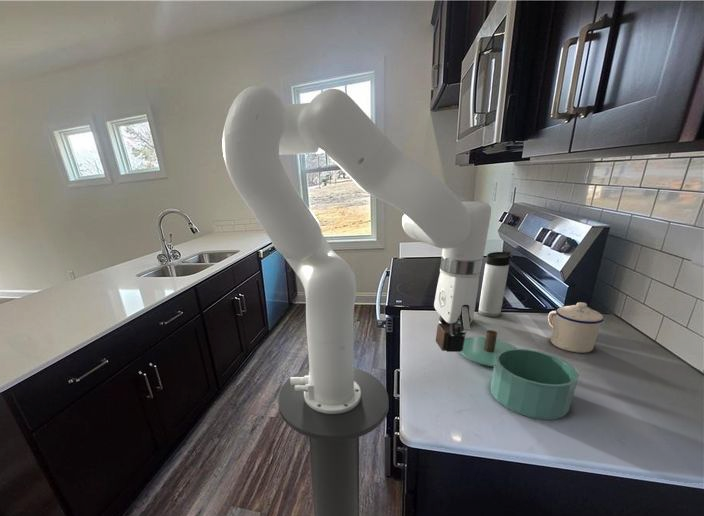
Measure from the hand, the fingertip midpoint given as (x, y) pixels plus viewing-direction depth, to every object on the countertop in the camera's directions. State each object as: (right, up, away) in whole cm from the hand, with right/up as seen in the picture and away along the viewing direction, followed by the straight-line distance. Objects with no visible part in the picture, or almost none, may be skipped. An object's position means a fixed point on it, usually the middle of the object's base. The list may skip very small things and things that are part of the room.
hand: (448, 344), depth 70 cm
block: (0, 0, 0) cm, 0 cm away
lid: (+15, -3, +10) cm, 18 cm away
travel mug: (+28, +5, +33) cm, 44 cm away
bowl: (+14, -10, -5) cm, 18 cm away
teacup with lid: (+37, -2, +13) cm, 39 cm away
